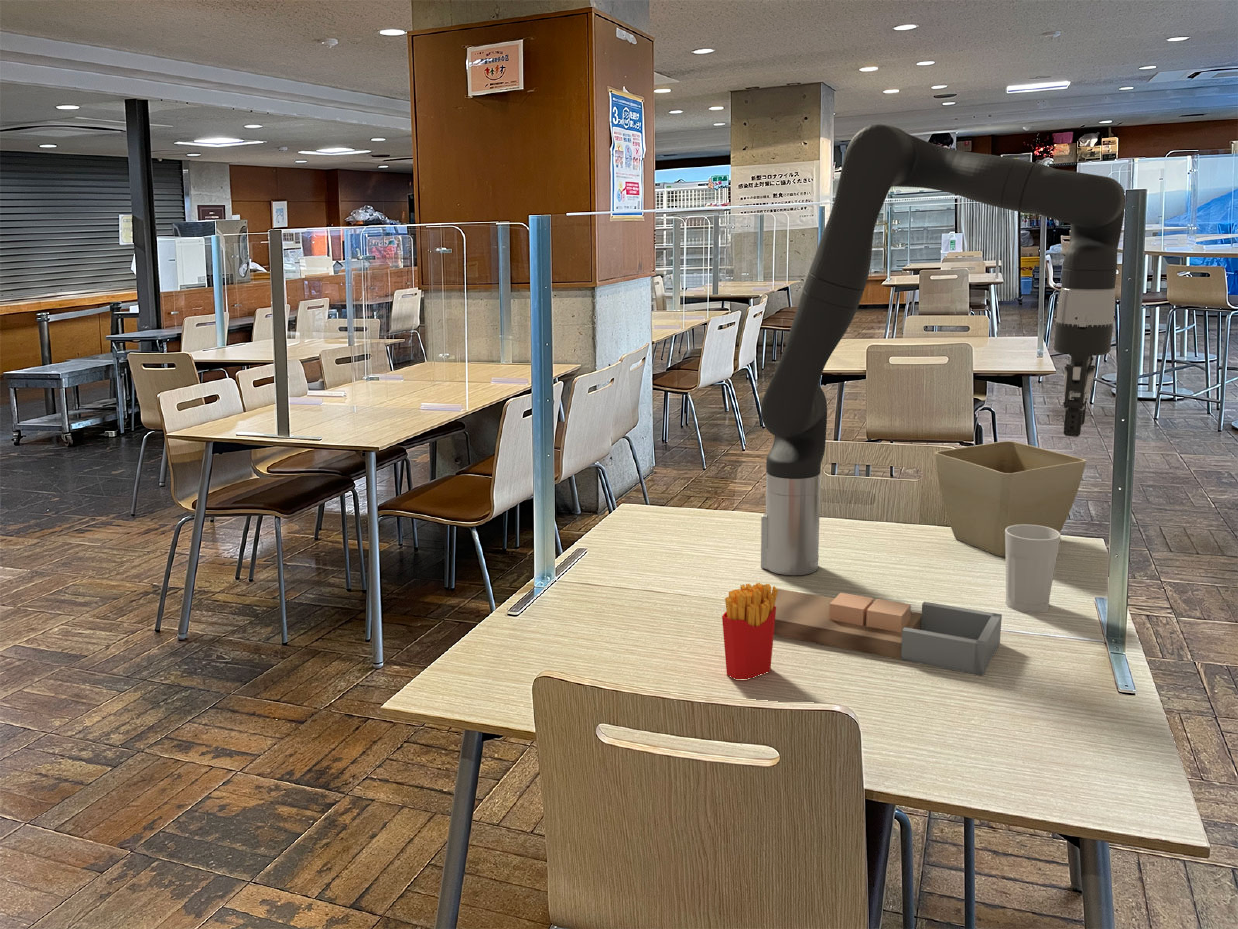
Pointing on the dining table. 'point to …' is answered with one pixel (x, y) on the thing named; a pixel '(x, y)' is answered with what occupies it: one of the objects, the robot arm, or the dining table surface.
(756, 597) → the french fries
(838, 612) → the tile
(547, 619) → the dining table surface
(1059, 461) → the flower pot
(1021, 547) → the cup
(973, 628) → the tray
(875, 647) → the board
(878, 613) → the tile
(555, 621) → the dining table surface
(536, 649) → the dining table surface
